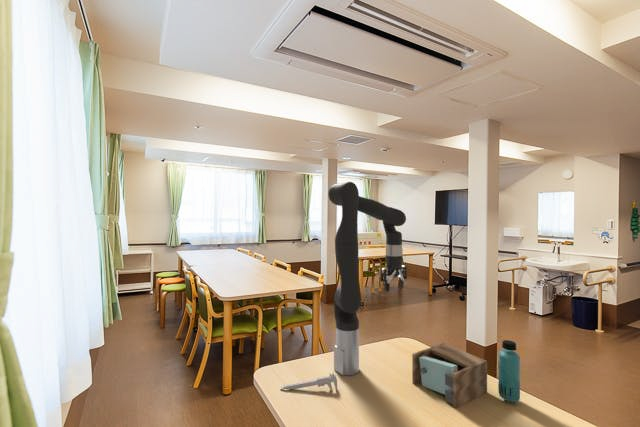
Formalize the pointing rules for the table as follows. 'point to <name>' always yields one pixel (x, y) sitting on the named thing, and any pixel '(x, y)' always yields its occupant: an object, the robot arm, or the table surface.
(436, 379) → the door
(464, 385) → the cabinet
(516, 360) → the beverage bottle
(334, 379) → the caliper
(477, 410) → the table surface
